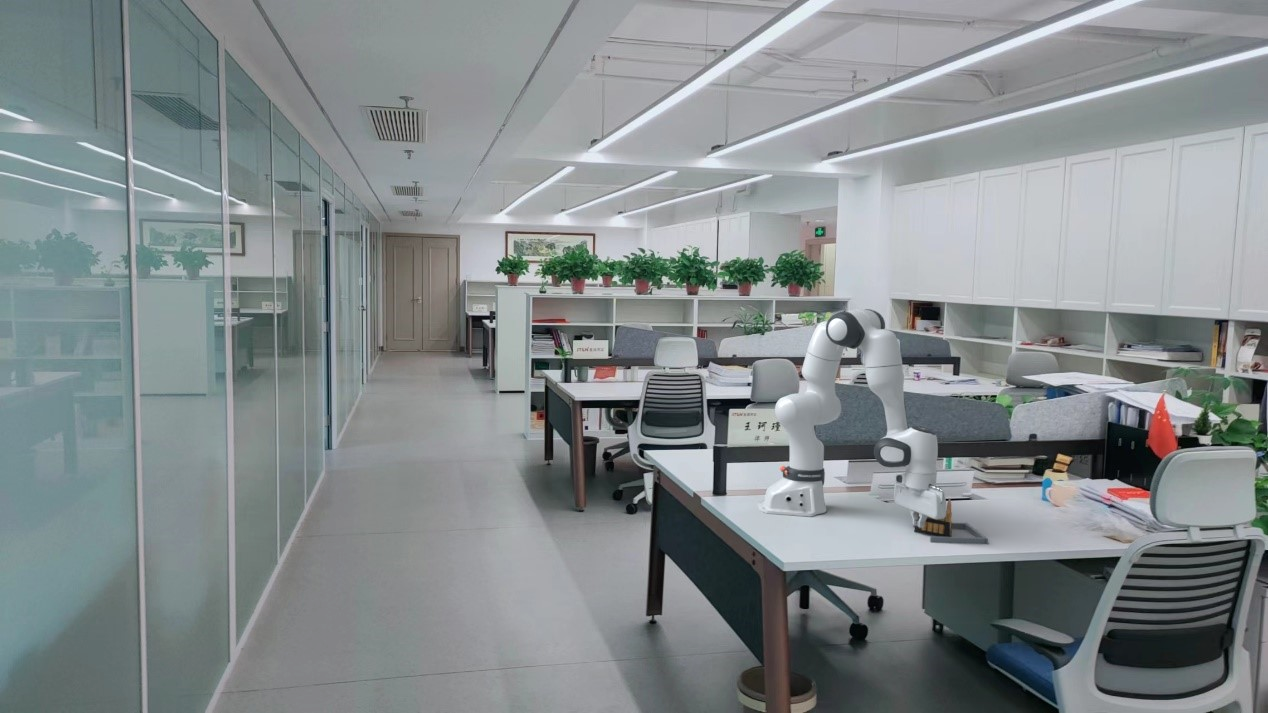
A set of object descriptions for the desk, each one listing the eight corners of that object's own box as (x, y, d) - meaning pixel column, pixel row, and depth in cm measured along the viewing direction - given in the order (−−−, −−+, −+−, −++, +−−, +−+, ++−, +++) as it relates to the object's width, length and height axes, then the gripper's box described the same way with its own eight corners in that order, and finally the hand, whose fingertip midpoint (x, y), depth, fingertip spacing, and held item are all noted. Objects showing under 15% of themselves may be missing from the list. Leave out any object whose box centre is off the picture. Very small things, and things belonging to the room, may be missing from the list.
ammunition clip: (951, 538, 257) (953, 498, 256) (949, 539, 255) (951, 499, 254) (916, 531, 263) (918, 492, 262) (914, 532, 262) (916, 493, 261)
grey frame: (930, 543, 251) (931, 537, 251) (913, 527, 268) (913, 521, 268) (987, 544, 250) (988, 538, 250) (966, 528, 267) (966, 522, 267)
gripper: (953, 488, 249) (950, 535, 250) (908, 473, 268) (906, 517, 269) (935, 489, 247) (932, 536, 248) (891, 474, 266) (889, 518, 267)
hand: (918, 526), depth 259 cm, fingers closed
